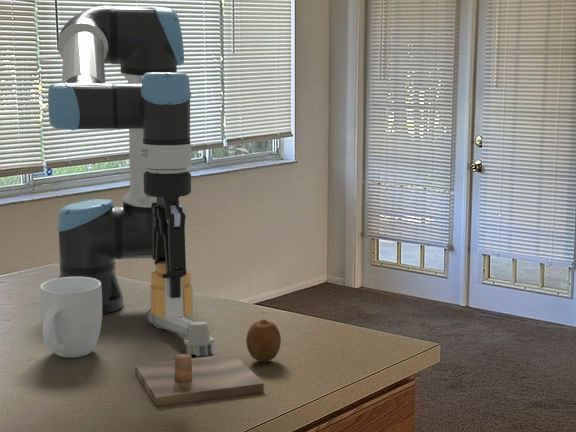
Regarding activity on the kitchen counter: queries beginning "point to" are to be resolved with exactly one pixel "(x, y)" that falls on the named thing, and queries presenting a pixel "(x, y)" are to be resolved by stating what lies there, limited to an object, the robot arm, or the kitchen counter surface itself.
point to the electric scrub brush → (186, 332)
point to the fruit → (263, 340)
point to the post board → (197, 379)
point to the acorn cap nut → (159, 292)
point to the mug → (71, 315)
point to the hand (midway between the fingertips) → (169, 310)
